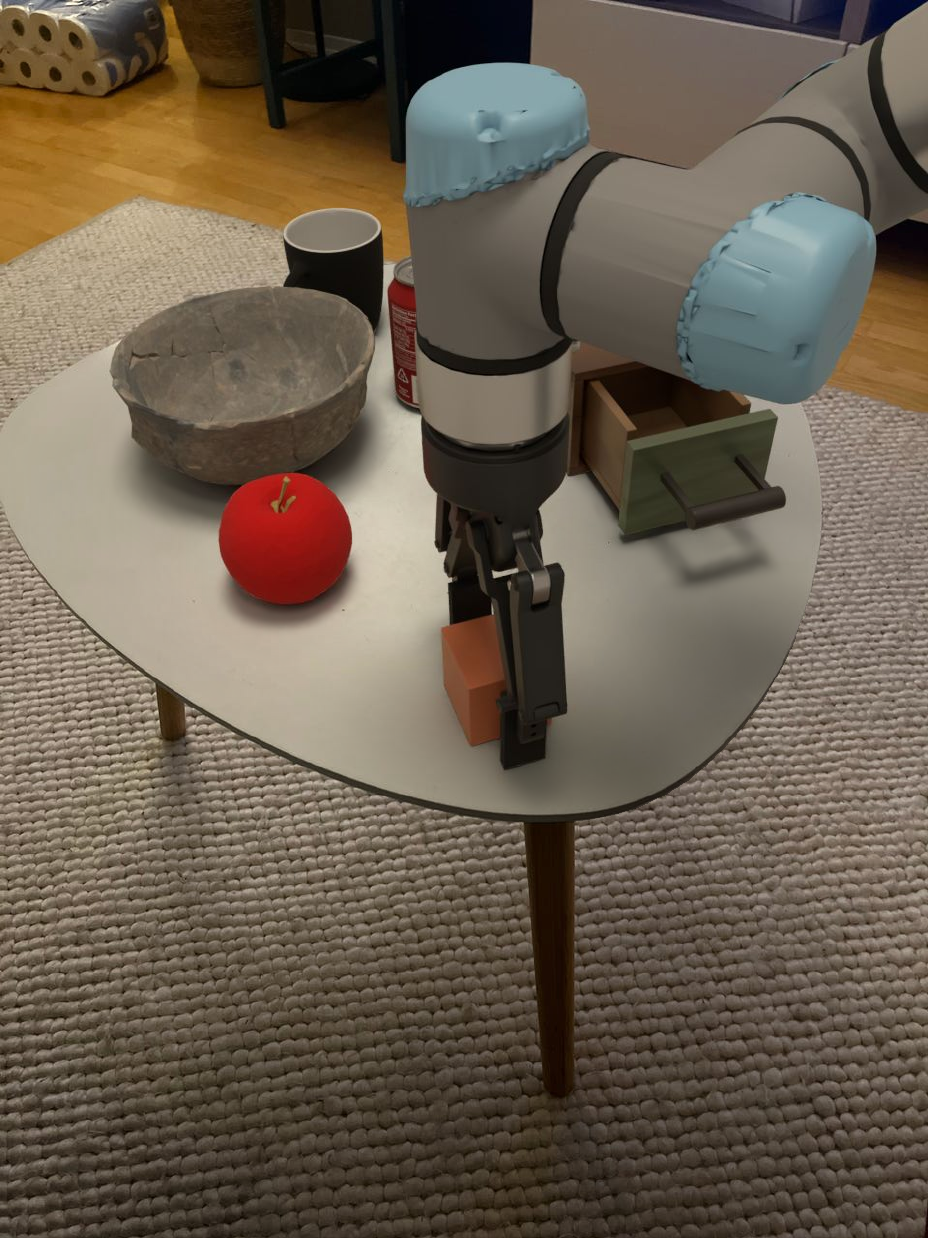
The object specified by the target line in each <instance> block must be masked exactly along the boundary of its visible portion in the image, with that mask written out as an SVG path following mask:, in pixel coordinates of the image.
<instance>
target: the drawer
mask: <svg viewBox="0 0 928 1238" xmlns="http://www.w3.org/2000/svg"><path fill="white" fill-rule="evenodd" d="M583 381H584V386H583V402H582V417H581V433H580V449H579V453H580V455H581V456H582V458H583V459H584V460H585V462H586V463H587V465H588V466H589V467H590V469H591V470H592V471H591V472H592V474H593V475H594V476H595V478H596V479H597V481H598V483H600V484H601V486H602V487H603V489H604V490H605V493H607V495H608V496H609V498H610V499H611V501H612V502H613V503H614V505H615V506H616V507H617V509H618V511H619V512H618V522H617V527H618V528H619V529H620V531H621V532H622V534H623V536H627V535H632V534H635V533H636V534H637V533H640V532H643V531H648V530H652V529H655V528H660V527H664V526H668V525H672V524H676V523H680V522H685V523H686V525H687V527H688V529H689V530H690V531H696V530H701V529H704V528H708V527H712V526H716V525H720V524H721V525H722V524H725V523H728V522H733V521H736V520H741V519H745V518H749V517H753V516H757V515H761V514H764V513H768V512H773V511H777V510H781V509H783V508H785V507H786V504H787V495H786V492H785V490H784V489H783V487H782V486H779V485H775V486H771V484H770V483H769V482H768V481H767V480H766V475H767V470H768V466H769V462H770V456H771V452H772V447H773V443H774V438H775V433H776V430H777V425H778V420H779V416H777V414H776V413H775V412H774V411H773V410H772V409H771V408H766V409H762V410H757V411H753V412H751V408H752V402H751V401H750V400H749V399H748V398H747V397H746V395H743V394H739V393H735V392H731V391H727V390H721V391H719V392H718V391H715V390H712V389H706V388H703V387H701V386H700V385H699V384H695V383H693V382H692V381H690V380H687V379H685V378H682V377H679V376H676V375H673V374H671V373H668V372H665V371H662V370H659V369H657V368H654V367H651V366H649V367H644V368H640V369H635V370H630V371H626V372H621V373H616V374H611V375H607V376H602V377H597V378H593V379H588V380H583Z"/></svg>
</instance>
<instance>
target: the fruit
mask: <svg viewBox="0 0 928 1238" xmlns="http://www.w3.org/2000/svg"><path fill="white" fill-rule="evenodd" d="M218 546H219V547H218V548H219V553H220V557H221V559H222V562H223V565H224V566H225V568H226V569H227V572H228V573H229V576H231V578H232V579H233V580H234V581H235V582H236V583H237V584H238V585H239V586H240V587H241V588H242V589H243V590H244V591H245V592H246V593H247V594H249V595H251V596H252V597H254V598H256V599H259V600H262V601H265V602H268V603H272V604H277V605H293V604H294V605H295V604H297V605H298V604H302V603H306V602H309V601H312V600H314V599H315V598H317V597H318V596H320V595H321V594H323V593H324V592H326V591H327V590H328V589H330V588H331V587H332V586H333V585H334V584H335V583H336V581H338V580H339V578H340V577H341V575H342V574H343V572H344V570H345V567H346V565H347V564H348V561H349V558H350V555H351V551H352V546H353V531H352V524H351V521H350V517H349V515H348V513H347V510H346V508H345V506H344V505H343V503H342V502H341V501H340V499H339V498H338V496H337V495H336V493H335V492H333V491H332V490H331V489H330V487H328V486H327V485H326V484H324V483H323V482H322V481H320V480H319V479H317V478H314V477H313V476H311V475H308V474H306V473H305V474H303V473H297V472H292V473H283V474H276V475H270V476H266V477H263V478H260V479H257V480H254V481H251V482H248V483H246V484H244V485H240V487H239V488H238V489H236V490H235V491H234V492H233V493H232V495H231V496H230V498H229V499H228V501H227V503H226V506H225V507H224V510H223V512H222V516H221V521H220V525H219V528H218Z"/></svg>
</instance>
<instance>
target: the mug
mask: <svg viewBox="0 0 928 1238" xmlns="http://www.w3.org/2000/svg"><path fill="white" fill-rule="evenodd" d="M282 239H283V247H284V252H285V257H286V262H287V268H288V271H289V273H288V275H287V276H286V278H285V280H284V282H283V285H282V287H292V288H294V287H297V288H302V289H312V290H317V291H321V292H325V293H329V294H333V295H337V296H340V297H342V298H344V299H347V300H348V302H350V303H351V304H353V305H354V306H356V307H357V308H358V309H360V310H361V311H362V312H363V313H364V314H365V315H366V316H367V317H368V321H369V322H370V324H371V325H372V329H373V333H375V332H376V330H377V328H378V327H379V323H380V320H381V315H382V308H383V299H384V298H383V297H384V273H385V272H384V271H385V266H384V265H385V264H384V261H385V260H384V238H383V230H382V224H381V222H380V221H379V220H378V218H377V217H375V216H374V215H372V214H371V213H368V212H367V211H363V210H359V209H355V208H347V207H331V208H323V209H317V210H313V211H309V212H306V213H303V214H300V215H298V216H297V217H295V218H293V219H292V220H290V221H289V222H288V223H287V225H285V227H284V228H283V233H282Z"/></svg>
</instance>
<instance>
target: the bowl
mask: <svg viewBox="0 0 928 1238" xmlns="http://www.w3.org/2000/svg"><path fill="white" fill-rule="evenodd" d="M374 333H375V332H374ZM374 333H373V329H372V325H371V324H370V322H369V321H368V317H367V316H366V315H365V314H364V313H363V312H362V311H361V310H360V309H358V308H357V307H356V306H354V305H353V304H351V303H350V302H348V300H347V299H344V298H342V297H340V296H337V295H333V294H329V293H325V292H321V291H317V290H312V289H302V288H297V287H294V288H292V287H283V285H282V286H280V285H276V286H274V287H271V285H268V286H267V285H265V286H258V287H244V288H243V287H242V288H238V289H231V290H225V291H220V292H214V293H207V294H203V295H202V294H201V295H199V296H194V297H191V298H188V299H186V300H184V301H181V302H179V303H178V304H175V305H173V306H170V307H167V308H165V309H164V310H161V311H160V312H158V313H156V314H154V315H152V316H150V317H149V318H147V319H146V320H144V321H143V322H142V323H140V324H139V325H137V327H135V328H134V329H132V330H131V331H129V332H128V333H126V334H125V335H123V337H122V338H121V340H120V341H119V343H118V344H117V345H116V347H115V349H114V352H113V355H112V358H111V363H110V368H109V373H110V376H111V378H112V384H111V385H112V387H113V389H114V391H115V392H116V393H117V395H118V396H119V397H120V399H121V400H122V401H123V403H124V404H125V405H126V406H127V409H128V410H127V411H128V413H129V418H130V422H131V439H133V441H134V442H135V443H137V445H138V446H139V447H140V448H142V449H144V450H146V451H147V452H148V453H149V454H150V455H152V456H153V457H154V458H155V459H157V460H158V461H159V462H161V463H162V464H164V466H166V467H168V468H170V469H173V470H175V471H177V472H180V473H182V474H183V475H186V476H190V477H192V478H194V479H196V480H198V481H201V482H206V483H211V484H216V485H222V486H239V485H240V486H243V485H244V484H246V483H248V482H251V481H254V480H257V479H260V478H263V477H266V476H270V475H276V474H283V473H296V472H297V471H300V470H302V469H305V468H306V467H309V466H310V465H313V464H314V463H315V462H317V461H319V460H320V459H321V458H323V457H324V456H326V455H327V454H329V452H330V451H332V450H334V449H335V448H336V447H337V446H339V444H340V443H341V442H342V441H343V440H345V439H346V437H347V436H348V434H349V433H350V431H351V430H353V429H354V428H355V426H356V424H357V422H359V419H360V415H361V411H362V410H363V409H364V407H365V404H366V400H367V393H368V384H367V382H368V381H367V380H368V375H369V374H368V373H369V371H370V368H371V366H372V361H373V358H374V355H375V350H376V336H375V334H374Z"/></svg>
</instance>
